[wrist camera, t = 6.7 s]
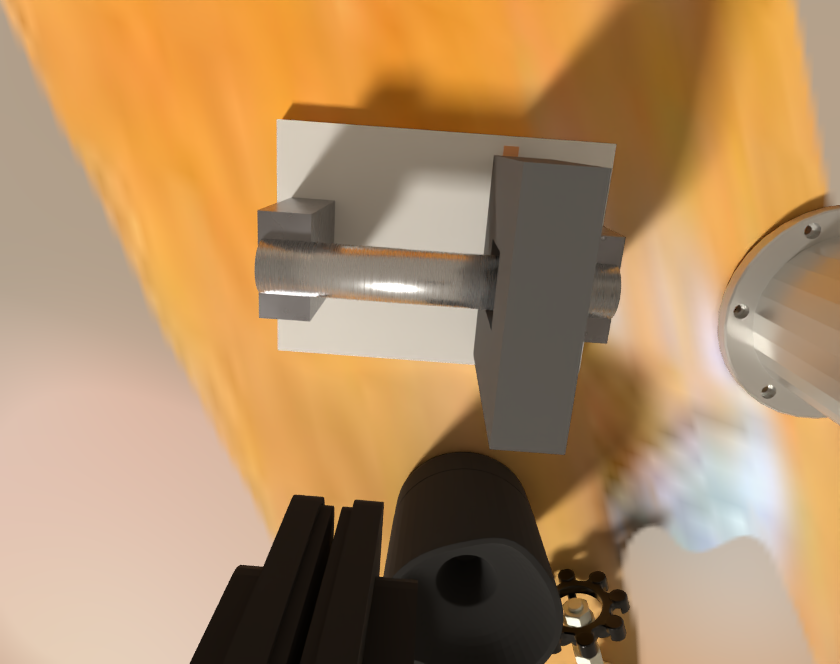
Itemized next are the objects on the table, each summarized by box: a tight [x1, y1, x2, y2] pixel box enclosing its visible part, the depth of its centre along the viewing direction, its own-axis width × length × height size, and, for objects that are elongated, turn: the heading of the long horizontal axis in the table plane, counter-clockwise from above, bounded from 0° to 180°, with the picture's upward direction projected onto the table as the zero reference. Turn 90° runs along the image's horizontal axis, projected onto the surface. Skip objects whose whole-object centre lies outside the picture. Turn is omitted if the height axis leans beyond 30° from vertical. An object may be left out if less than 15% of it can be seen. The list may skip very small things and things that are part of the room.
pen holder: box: [383, 452, 564, 664], centre depth 35 cm, size 9×9×10 cm
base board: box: [277, 119, 617, 373], centre depth 34 cm, size 18×13×1 cm
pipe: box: [255, 197, 626, 344], centre depth 29 cm, size 16×5×8 cm, turn 86°
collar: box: [473, 155, 612, 455], centre depth 27 cm, size 3×11×11 cm, turn 176°
